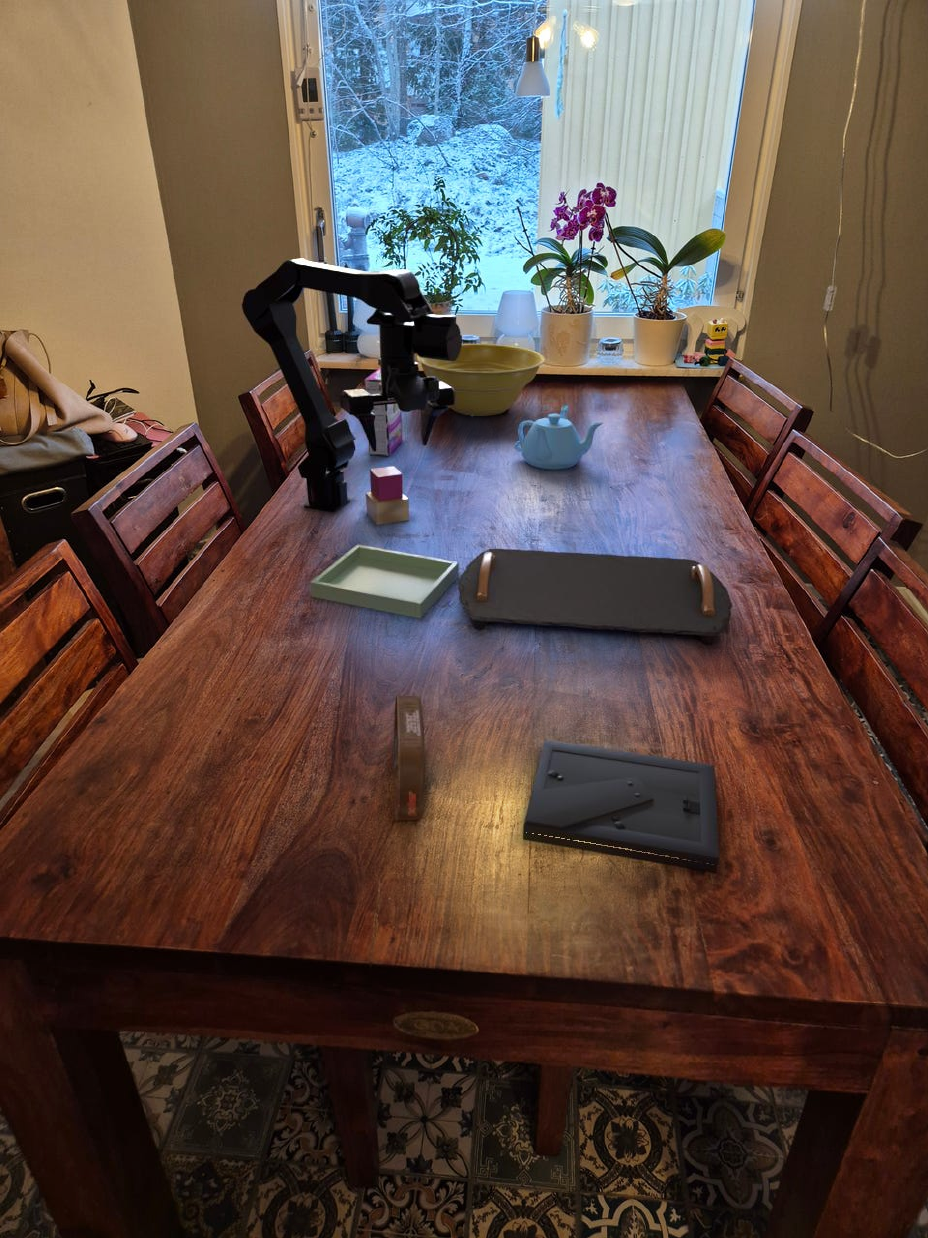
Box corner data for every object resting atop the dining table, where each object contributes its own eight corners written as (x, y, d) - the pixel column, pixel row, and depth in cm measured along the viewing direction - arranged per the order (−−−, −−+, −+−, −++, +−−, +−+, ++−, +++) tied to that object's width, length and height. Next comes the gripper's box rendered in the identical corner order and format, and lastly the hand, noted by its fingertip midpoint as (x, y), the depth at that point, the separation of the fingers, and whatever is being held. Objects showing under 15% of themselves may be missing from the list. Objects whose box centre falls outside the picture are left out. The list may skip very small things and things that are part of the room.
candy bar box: (381, 440, 187) (378, 367, 179) (403, 441, 187) (400, 368, 179) (367, 455, 178) (363, 378, 170) (389, 456, 177) (386, 379, 169)
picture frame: (522, 839, 77) (716, 873, 74) (523, 822, 76) (720, 855, 73) (543, 753, 89) (711, 779, 85) (544, 736, 88) (715, 762, 84)
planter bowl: (546, 427, 197) (549, 371, 191) (413, 426, 198) (412, 369, 191) (537, 394, 225) (540, 344, 219) (421, 392, 226) (420, 342, 219)
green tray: (311, 596, 120) (309, 582, 119) (357, 557, 132) (356, 544, 131) (420, 618, 115) (420, 603, 113) (458, 576, 126) (458, 562, 125)
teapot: (506, 455, 179) (507, 408, 173) (567, 447, 183) (570, 402, 178) (536, 477, 167) (538, 427, 162) (600, 468, 172) (604, 419, 167)
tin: (393, 742, 90) (390, 678, 86) (421, 740, 90) (420, 677, 86) (394, 840, 77) (391, 771, 73) (427, 838, 77) (426, 769, 73)
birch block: (377, 524, 144) (376, 503, 142) (366, 513, 149) (365, 492, 147) (409, 519, 146) (408, 498, 144) (397, 508, 151) (397, 487, 149)
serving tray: (714, 577, 127) (721, 540, 124) (741, 655, 107) (749, 613, 104) (467, 562, 131) (468, 526, 128) (448, 635, 111) (448, 594, 108)
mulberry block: (378, 501, 143) (377, 477, 141) (370, 493, 146) (369, 469, 144) (403, 498, 144) (402, 473, 142) (394, 489, 148) (393, 465, 146)
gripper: (358, 369, 123) (363, 469, 130) (470, 360, 130) (468, 455, 137) (336, 354, 132) (341, 448, 139) (442, 347, 139) (442, 437, 146)
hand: (399, 447), depth 140 cm, fingers open, 9 cm apart
